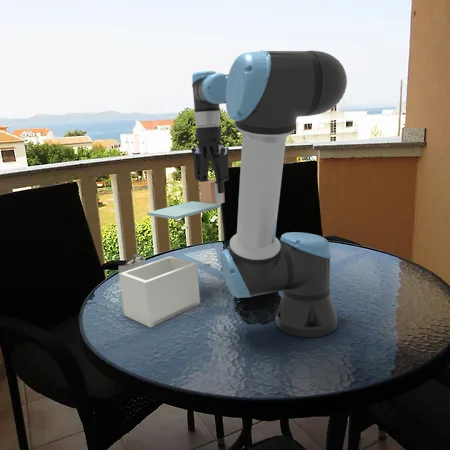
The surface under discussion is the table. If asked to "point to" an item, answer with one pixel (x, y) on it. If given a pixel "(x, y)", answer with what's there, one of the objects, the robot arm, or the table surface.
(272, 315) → the table surface
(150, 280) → the tub
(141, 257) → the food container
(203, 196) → the lid
